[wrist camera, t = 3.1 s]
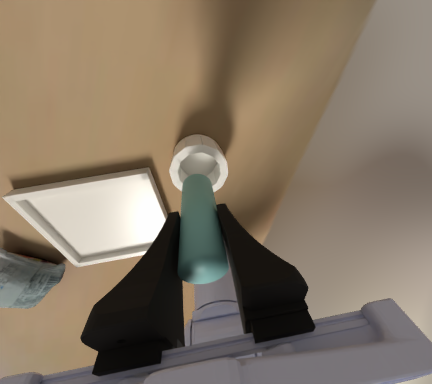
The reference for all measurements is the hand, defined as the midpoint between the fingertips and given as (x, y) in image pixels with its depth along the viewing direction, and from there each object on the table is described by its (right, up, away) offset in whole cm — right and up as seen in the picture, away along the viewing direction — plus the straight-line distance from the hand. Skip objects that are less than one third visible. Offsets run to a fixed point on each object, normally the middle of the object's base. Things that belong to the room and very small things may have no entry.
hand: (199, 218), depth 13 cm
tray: (-14, -2, +12) cm, 18 cm away
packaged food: (-29, -10, +15) cm, 35 cm away
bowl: (-1, +6, +8) cm, 10 cm away
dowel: (-1, +2, +3) cm, 4 cm away
